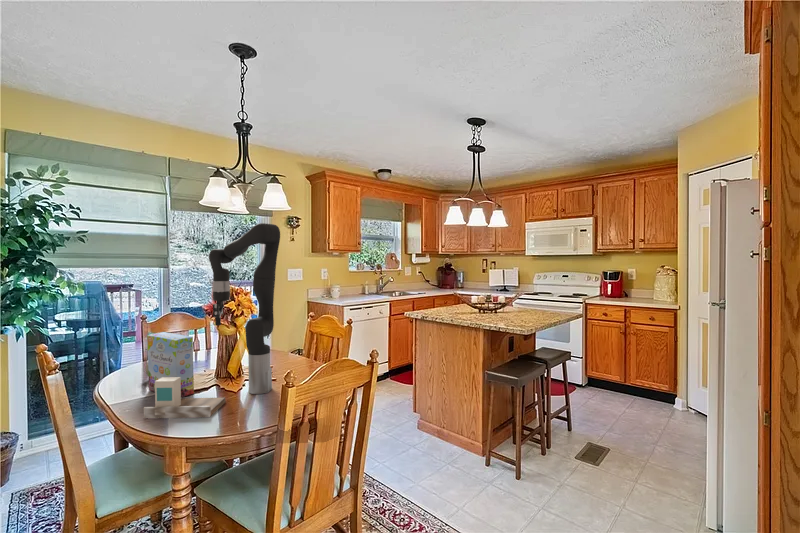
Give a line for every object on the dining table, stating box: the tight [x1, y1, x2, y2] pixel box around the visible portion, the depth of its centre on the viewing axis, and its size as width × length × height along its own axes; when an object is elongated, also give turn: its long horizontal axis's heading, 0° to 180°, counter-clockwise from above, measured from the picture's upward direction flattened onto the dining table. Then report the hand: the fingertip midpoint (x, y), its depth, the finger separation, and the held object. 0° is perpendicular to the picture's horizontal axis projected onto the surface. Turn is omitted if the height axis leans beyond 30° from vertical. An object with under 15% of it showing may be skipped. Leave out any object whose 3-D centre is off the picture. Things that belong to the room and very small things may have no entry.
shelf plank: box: [143, 397, 226, 419], centre depth 152 cm, size 24×15×4 cm, turn 93°
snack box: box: [146, 331, 195, 398], centre depth 172 cm, size 22×9×26 cm, turn 62°
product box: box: [154, 377, 181, 407], centre depth 150 cm, size 5×7×11 cm
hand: (221, 323), depth 186 cm, fingers open, 8 cm apart
